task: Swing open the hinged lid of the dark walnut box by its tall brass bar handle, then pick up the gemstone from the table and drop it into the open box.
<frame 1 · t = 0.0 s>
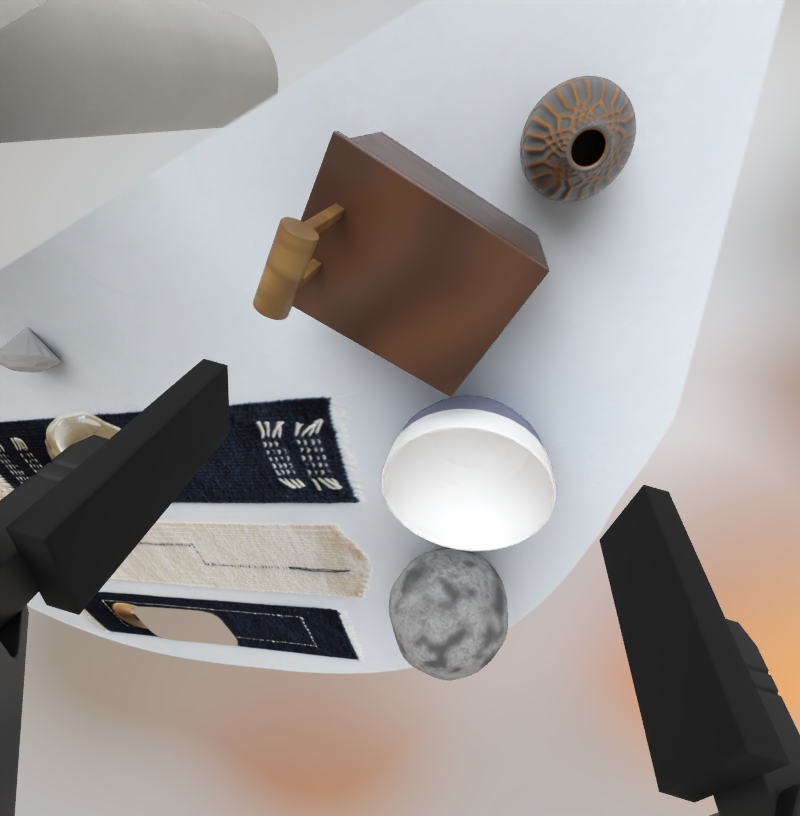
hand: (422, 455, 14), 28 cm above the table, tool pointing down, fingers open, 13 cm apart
chest: (425, 249, 37), on the table
stone: (451, 560, 61), on the table
vase: (567, 139, 31), on the table
gemstone: (43, 346, 52), on the table
lid: (390, 303, 27), point 13 cm above the table, hinge at 0.0°
bowl: (470, 431, 48), on the table
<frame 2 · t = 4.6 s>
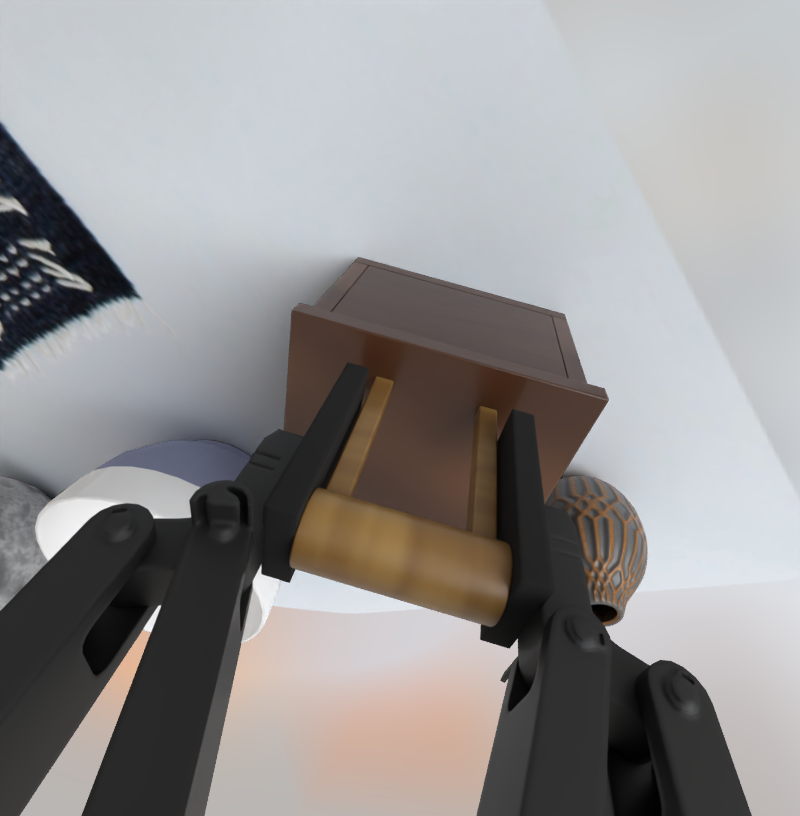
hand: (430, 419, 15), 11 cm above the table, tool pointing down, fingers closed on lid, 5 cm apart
chest: (427, 393, 28), on the table
stone: (35, 495, 43), on the table
vase: (575, 494, 30), on the table
lid: (386, 566, 17), point 13 cm above the table, hinge at 0.0°, touching gripper
bowl: (226, 480, 37), on the table
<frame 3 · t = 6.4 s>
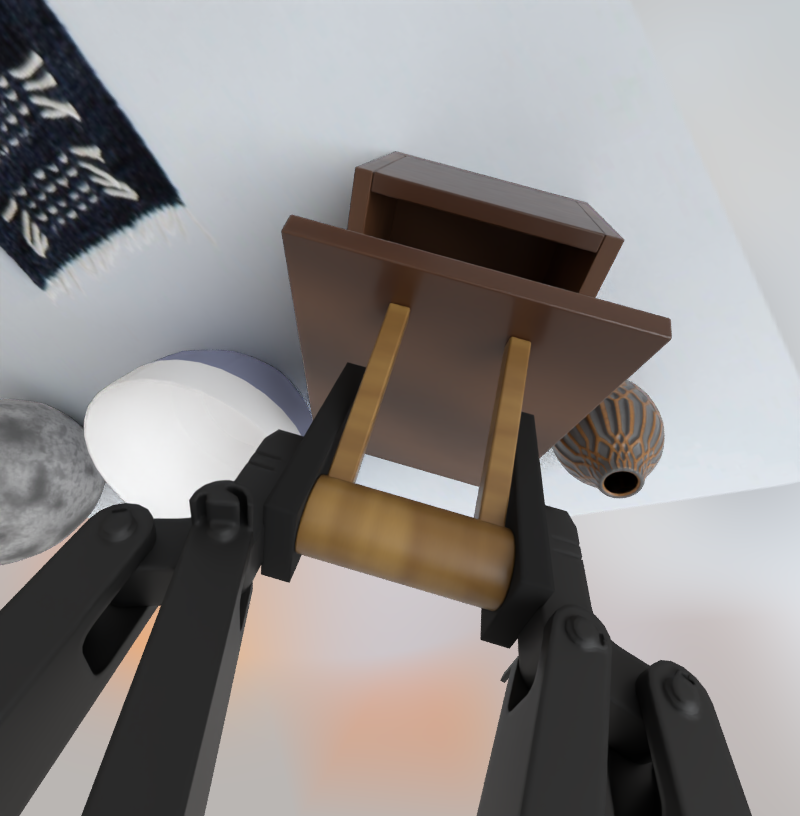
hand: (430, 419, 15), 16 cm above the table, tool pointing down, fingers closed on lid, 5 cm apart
chest: (455, 294, 29), on the table
stone: (66, 428, 45), on the table
vase: (592, 399, 32), on the table
lid: (409, 483, 17), point 16 cm above the table, hinge at 26.2°, touching gripper
bowl: (255, 401, 38), on the table
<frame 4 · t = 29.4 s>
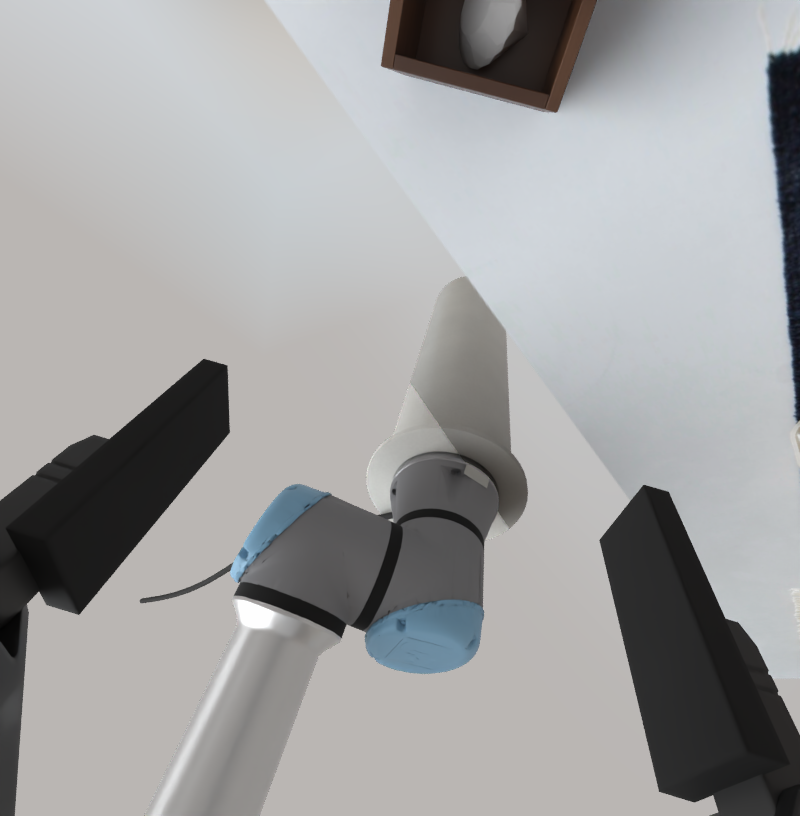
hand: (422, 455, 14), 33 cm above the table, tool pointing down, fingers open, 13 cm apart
gemstone: (494, 20, 31), point 1 cm above the table, touching chest
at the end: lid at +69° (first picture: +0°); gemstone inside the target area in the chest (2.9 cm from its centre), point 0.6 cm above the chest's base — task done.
